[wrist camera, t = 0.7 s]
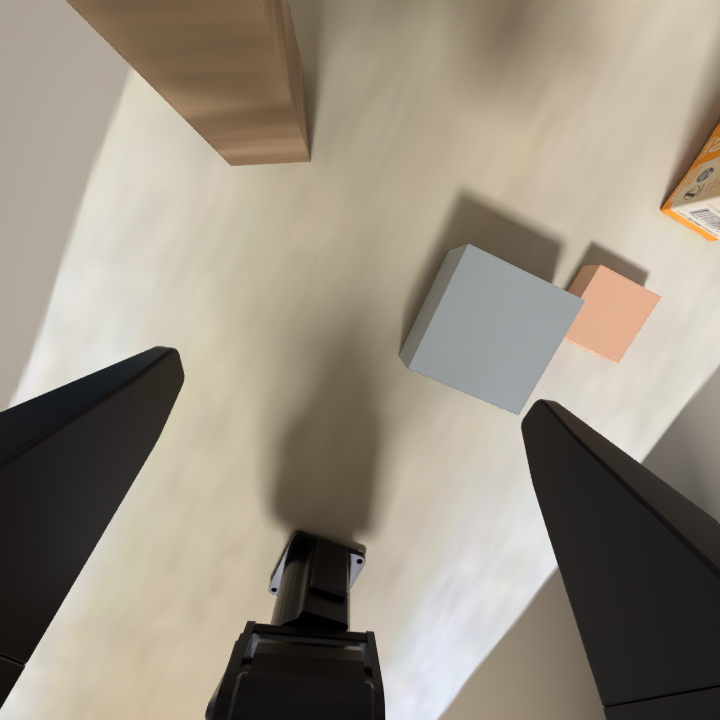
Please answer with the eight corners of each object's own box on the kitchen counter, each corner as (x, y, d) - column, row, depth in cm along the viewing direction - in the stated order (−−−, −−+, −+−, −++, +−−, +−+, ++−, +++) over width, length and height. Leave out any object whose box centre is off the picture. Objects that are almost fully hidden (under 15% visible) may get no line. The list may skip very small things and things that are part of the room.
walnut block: (310, 161, 20) (241, -53, 7) (231, 165, 20) (22, -44, 7) (302, 67, 19) (203, -383, 6) (218, 71, 19) (-59, -375, 6)
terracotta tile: (596, 356, 24) (618, 363, 22) (541, 330, 23) (558, 334, 21) (635, 295, 23) (661, 296, 21) (578, 266, 22) (600, 264, 20)
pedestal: (491, 394, 24) (518, 415, 20) (398, 354, 23) (407, 368, 19) (545, 297, 23) (585, 300, 19) (447, 251, 22) (468, 243, 18)
